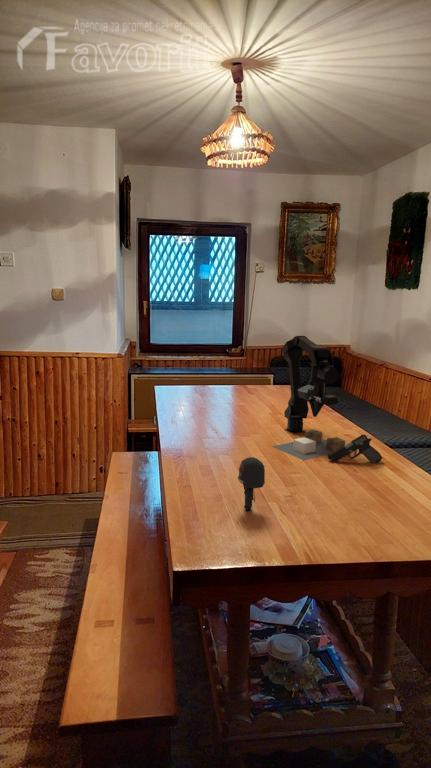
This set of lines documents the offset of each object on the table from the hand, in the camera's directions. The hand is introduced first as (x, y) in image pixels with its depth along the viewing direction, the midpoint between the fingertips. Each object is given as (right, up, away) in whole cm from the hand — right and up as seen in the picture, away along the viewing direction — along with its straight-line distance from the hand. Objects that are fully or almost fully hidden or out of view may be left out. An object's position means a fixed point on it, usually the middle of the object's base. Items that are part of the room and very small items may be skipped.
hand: (314, 416), depth 200 cm
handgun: (+11, -16, -19) cm, 27 cm away
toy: (-30, -22, -60) cm, 70 cm away
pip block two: (+7, -12, -5) cm, 15 cm away
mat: (-2, -12, -5) cm, 13 cm away
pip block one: (0, -10, +4) cm, 11 cm away
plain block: (-6, -12, -8) cm, 16 cm away
